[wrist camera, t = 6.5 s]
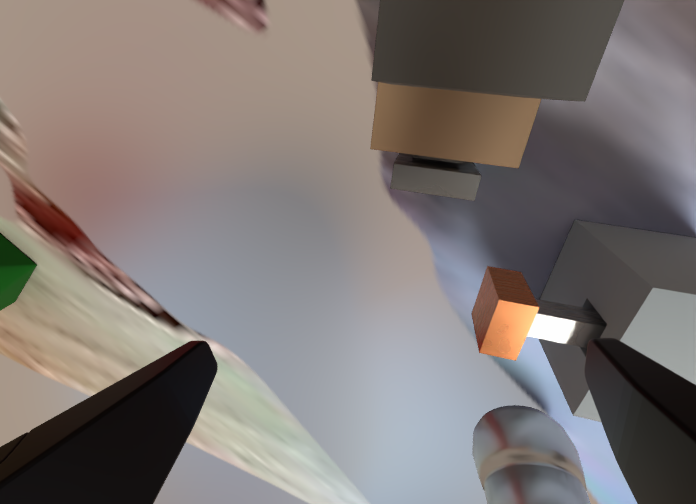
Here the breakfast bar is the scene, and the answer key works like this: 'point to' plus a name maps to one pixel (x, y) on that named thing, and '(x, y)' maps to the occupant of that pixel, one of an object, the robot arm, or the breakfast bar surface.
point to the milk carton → (12, 272)
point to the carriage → (480, 72)
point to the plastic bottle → (527, 459)
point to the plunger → (526, 317)
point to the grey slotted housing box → (625, 300)
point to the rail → (435, 176)
